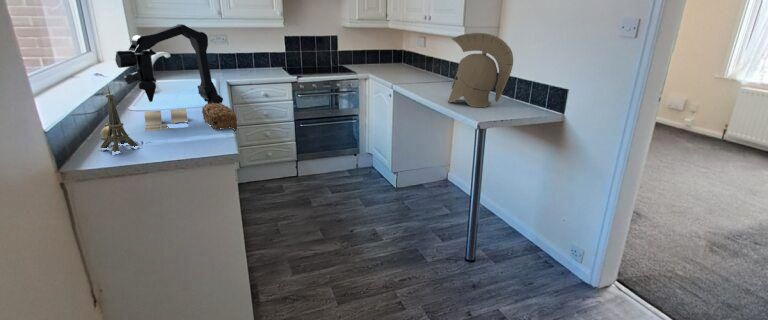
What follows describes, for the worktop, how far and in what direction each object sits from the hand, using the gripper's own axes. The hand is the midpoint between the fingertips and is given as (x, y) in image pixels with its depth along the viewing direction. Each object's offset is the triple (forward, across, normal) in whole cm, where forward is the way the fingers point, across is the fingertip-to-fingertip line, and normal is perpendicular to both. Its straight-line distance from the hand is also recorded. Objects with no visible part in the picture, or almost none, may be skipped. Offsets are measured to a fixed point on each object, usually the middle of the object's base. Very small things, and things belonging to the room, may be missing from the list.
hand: (150, 101), depth 191 cm
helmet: (+11, +15, +168) cm, 169 cm away
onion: (+11, +20, -14) cm, 27 cm away
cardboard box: (+11, +11, +5) cm, 16 cm away
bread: (+11, +14, +26) cm, 32 cm away
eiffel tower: (+11, +32, -11) cm, 36 cm away
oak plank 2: (+8, +2, +10) cm, 13 cm away
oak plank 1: (+8, +2, 0) cm, 8 cm away
